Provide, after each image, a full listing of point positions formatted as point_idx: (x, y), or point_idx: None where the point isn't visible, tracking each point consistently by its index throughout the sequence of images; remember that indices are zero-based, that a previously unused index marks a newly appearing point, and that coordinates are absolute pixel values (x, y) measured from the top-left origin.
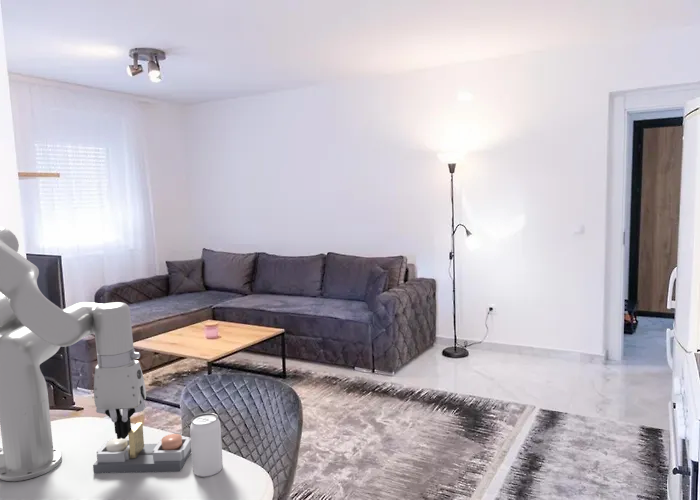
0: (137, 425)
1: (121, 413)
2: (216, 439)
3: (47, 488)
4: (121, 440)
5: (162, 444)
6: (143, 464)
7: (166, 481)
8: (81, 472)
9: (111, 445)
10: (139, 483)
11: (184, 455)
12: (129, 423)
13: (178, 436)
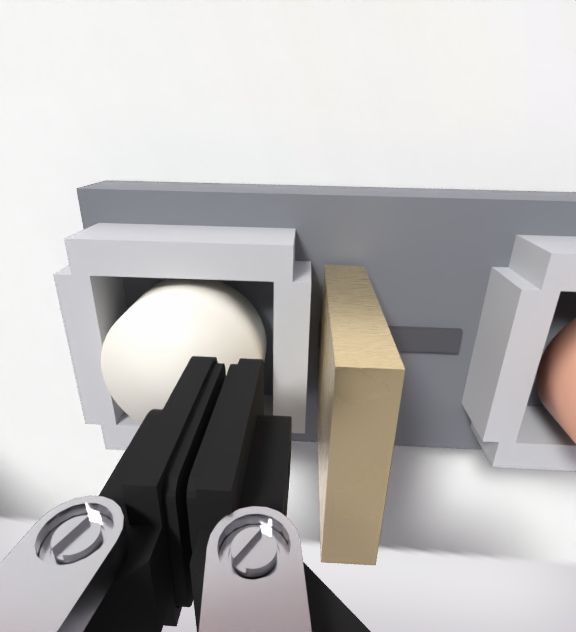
0: (365, 437)
1: (110, 556)
2: None
3: (5, 487)
4: (202, 347)
5: (570, 436)
6: (411, 443)
7: (530, 486)
8: (66, 385)
9: None
10: (404, 489)
11: None
12: (284, 503)
13: None
